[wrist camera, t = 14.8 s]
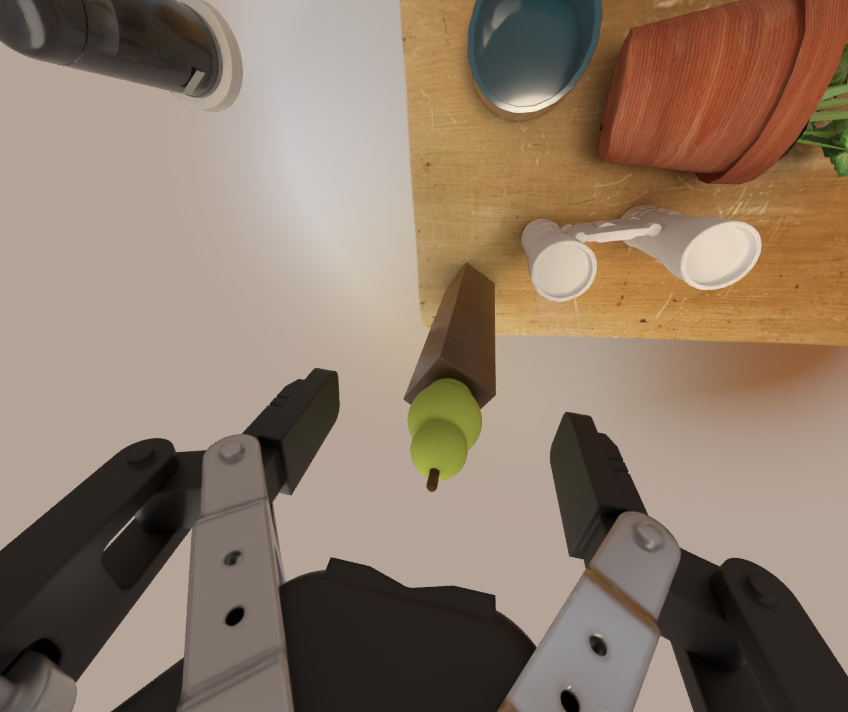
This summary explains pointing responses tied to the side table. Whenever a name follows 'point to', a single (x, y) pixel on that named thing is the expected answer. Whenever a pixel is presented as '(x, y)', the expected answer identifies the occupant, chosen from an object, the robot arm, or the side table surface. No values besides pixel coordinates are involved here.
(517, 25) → the teal bowl
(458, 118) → the side table surface
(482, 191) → the side table surface
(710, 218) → the binoculars
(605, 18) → the side table surface
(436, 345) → the pedestal
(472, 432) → the pear
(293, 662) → the robot arm
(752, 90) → the potted plant
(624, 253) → the side table surface
